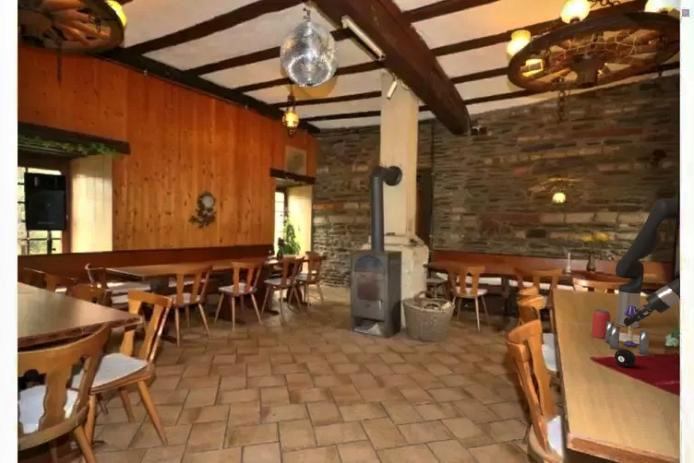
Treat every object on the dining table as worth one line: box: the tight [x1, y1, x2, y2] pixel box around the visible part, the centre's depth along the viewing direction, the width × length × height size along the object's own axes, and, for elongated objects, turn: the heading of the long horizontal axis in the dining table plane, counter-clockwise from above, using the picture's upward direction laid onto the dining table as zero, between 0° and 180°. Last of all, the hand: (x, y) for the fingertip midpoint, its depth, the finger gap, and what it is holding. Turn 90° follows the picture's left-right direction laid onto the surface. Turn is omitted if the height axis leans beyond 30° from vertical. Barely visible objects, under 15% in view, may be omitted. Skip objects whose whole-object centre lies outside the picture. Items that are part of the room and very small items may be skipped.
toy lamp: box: [623, 306, 638, 348], centre depth 163 cm, size 5×5×17 cm
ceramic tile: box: [619, 332, 640, 345], centre depth 173 cm, size 12×12×1 cm
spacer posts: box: [604, 320, 650, 356], centre depth 159 cm, size 11×16×9 cm, turn 39°
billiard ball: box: [614, 348, 636, 368], centre depth 139 cm, size 6×6×6 cm
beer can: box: [591, 308, 611, 340], centre depth 175 cm, size 7×7×12 cm
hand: (625, 323), depth 164 cm, fingers closed on toy lamp, 4 cm apart
